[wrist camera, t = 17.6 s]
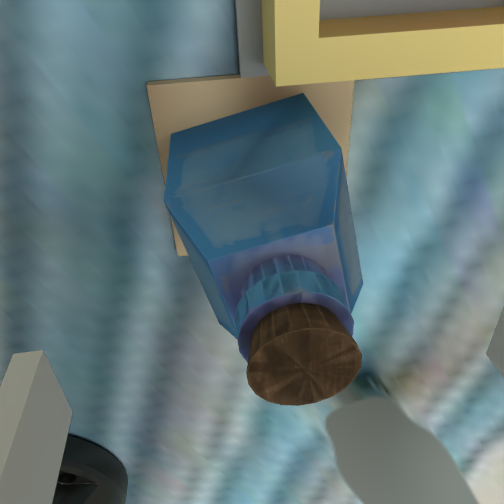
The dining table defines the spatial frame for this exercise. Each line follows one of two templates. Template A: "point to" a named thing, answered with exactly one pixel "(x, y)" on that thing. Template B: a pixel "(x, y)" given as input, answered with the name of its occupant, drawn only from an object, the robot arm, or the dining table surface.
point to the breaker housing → (366, 38)
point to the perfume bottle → (272, 243)
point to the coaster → (239, 108)
